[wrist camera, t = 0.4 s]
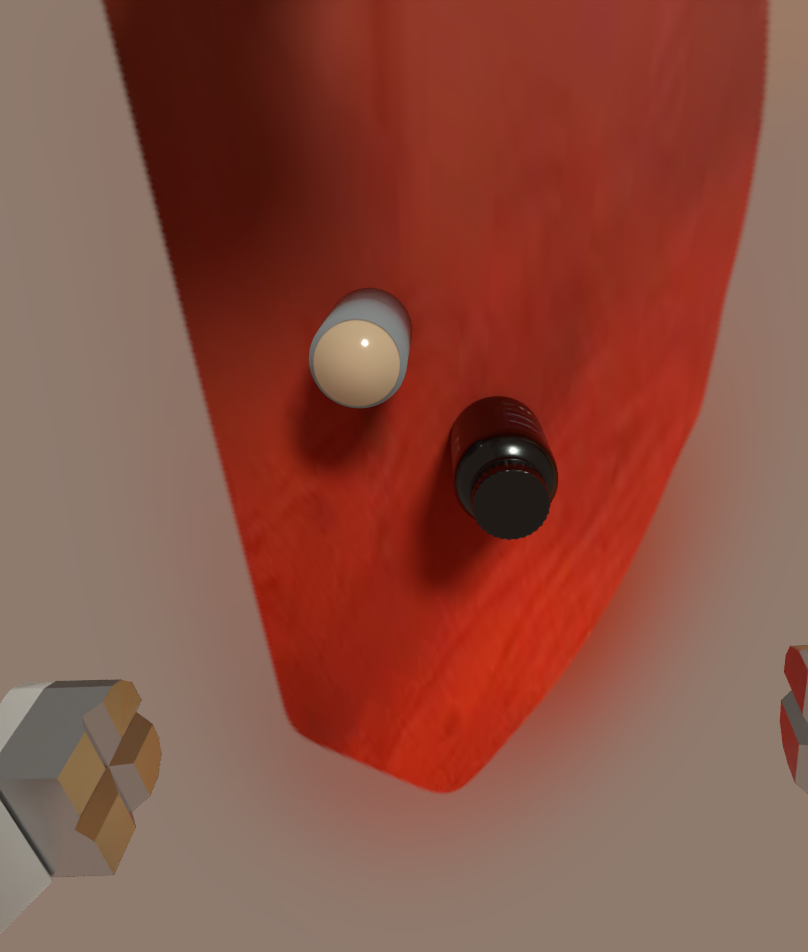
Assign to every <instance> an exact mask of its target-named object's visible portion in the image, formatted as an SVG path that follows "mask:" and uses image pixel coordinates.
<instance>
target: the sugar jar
mask: <svg viewBox="0 0 808 952" xmlns="http://www.w3.org/2000/svg"><path fill="white" fill-rule="evenodd" d="M411 339H412V324H411V320H410V317H409V314H408V312H407V310H406V308H405V307H404V305H403V304H402V303H401V302H400V301H399V300H398V299H397V298H396V297H394V296H393V295H391V294H390V293H388V292H386V291H383V290H380V289H375V288H363V289H358V290H355V291H352V292H350V293H348V294H347V295H345V296H344V297H343V298H342V299H340V300H339V301H338V303H337V304H336V305H335V307H334V308H333V310H332V311H331V312H330V314H329V315H328V317H327V318H326V320H325V321H324V323H323V324H322V326H321V327H320V329H319V330H318V332H317V333H316V335H315V336H314V338H313V341H312V343H311V347H310V352H309V366H310V370H311V374H312V376H313V379H314V381H315V383H316V384H317V386H318V387H319V389H320V390H321V391H322V392H323V393H324V394H325V395H326V396H327V397H328V398H330V399H331V400H333V401H334V402H336V403H338V404H340V405H343V406H346V407H351V408H368V407H373V406H376V405H378V404H381V403H383V402H384V401H386V400H388V399H389V398H390V397H391V396H392V395H393V394H394V393H395V392H396V391H397V390H398V388H399V387H400V385H401V384H402V382H403V379H404V377H405V373H406V368H407V362H408V356H409V351H410V345H411Z"/></svg>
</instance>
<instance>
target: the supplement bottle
mask: <svg viewBox="0 0 808 952" xmlns="http://www.w3.org/2000/svg"><path fill="white" fill-rule="evenodd" d="M451 461H452V475H453V486H454V491H455V495H456V497H457V500H458V502H459V504H460V505H461V507H462V508H463V510H464V511H465V512H466V513H467V514H468V515H469V516H470V517H471V518H473V519H474V520H476V521H477V524H478V525H480V526H481V528H482V530H484V531H486V532H487V533H488V534H490V535H493V536H494V537H499V538H500V539H508V540H511V539H519V538H524V537H526V536H527V535H531V534H532V533H533V532H534V531H537V530H538V528H539V527H540V526H542V525H543V522H544V521H545V520H546V518H547V515H548V513H549V508H550V505H551V502H552V501H553V498H554V496H555V494H556V490H557V486H558V471H557V466H556V463H555V460H554V457H553V455H552V452H551V450H550V447H549V445H548V442H547V440H546V437H545V435H544V432H543V430H542V428H541V425H540V423H539V421H538V419H537V417H536V416H535V415H534V413H533V412H532V411H531V410H530V409H529V408H528V407H527V406H526V405H524V404H523V403H521V402H519V401H517V400H515V399H512V398H508V397H501V396H494V397H487V398H483V399H480V400H478V401H476V402H474V403H472V404H471V405H469V406H468V407H467V408H466V409H465V410H464V411H463V412H462V413H461V414H460V415H459V416H458V418H457V420H456V421H455V423H454V426H453V429H452V433H451Z"/></svg>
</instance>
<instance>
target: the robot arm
mask: <svg viewBox="0 0 808 952" xmlns="http://www.w3.org/2000/svg"><path fill="white" fill-rule="evenodd" d="M784 673H785V675H786V677H787V680H788V682H789V684H790V687H791V689H792V690H791V691H790V692H789V693H788V694H787V695H786V696H785V697H784V698H783V699H782V700H781V712H780V725H781V734H782V742H783V748H784V752H785V755H786V759H787V763H788V766H789V769H790V771H791V774H792V776H793V779H794V782H795V784H796V785H798V786H799V787H800V788H801V789H803V790H804V791H805V792H806V793H808V645H797V646H790V647H789V649H788V652H787V654H786V658H785V666H784ZM141 701H142V700H141V698H140V696H139V694H138V692H137V690H136V688H135V686H134V685H133V683H132V682H130V681H125V680H82V681H55V682H28V683H21V684H20V685H18V686H16V687H14V688H12V689H11V690H10V691H9V692H8V694H7V695H6V696H5V698H4V699H3V700H2V702H1V703H0V934H1V933H2V932H3V931H4V930H5V929H6V928H7V927H8V926H9V925H10V924H11V923H12V922H13V921H14V920H15V919H16V918H17V916H18V915H20V913H22V912H23V910H25V909H26V908H27V907H28V905H29V904H30V903H31V902H32V901H33V900H34V899H35V898H36V897H37V896H38V895H39V894H40V893H41V892H42V891H43V890H44V889H45V888H46V887H47V886H48V885H49V884H50V883H51V882H52V878H51V877H75V876H107V875H114V874H115V872H116V870H117V867H118V865H119V863H120V861H121V859H122V857H123V854H124V852H125V850H126V848H127V846H128V844H129V841H130V839H131V837H132V835H133V833H134V831H135V828H136V825H135V821H134V818H133V814H132V812H133V810H135V809H136V808H137V807H138V806H139V805H141V804H142V803H143V802H144V801H145V800H146V799H148V797H150V795H151V793H152V790H153V788H154V786H155V783H156V781H157V779H158V776H159V769H160V768H159V767H160V761H161V748H160V742H159V737H158V734H157V732H156V730H155V728H154V725H153V724H152V723H151V722H149V721H148V720H147V719H145V718H144V717H142V716H141V715H140V714H138V713H137V710H138V708H139V705H140V703H141Z"/></svg>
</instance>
